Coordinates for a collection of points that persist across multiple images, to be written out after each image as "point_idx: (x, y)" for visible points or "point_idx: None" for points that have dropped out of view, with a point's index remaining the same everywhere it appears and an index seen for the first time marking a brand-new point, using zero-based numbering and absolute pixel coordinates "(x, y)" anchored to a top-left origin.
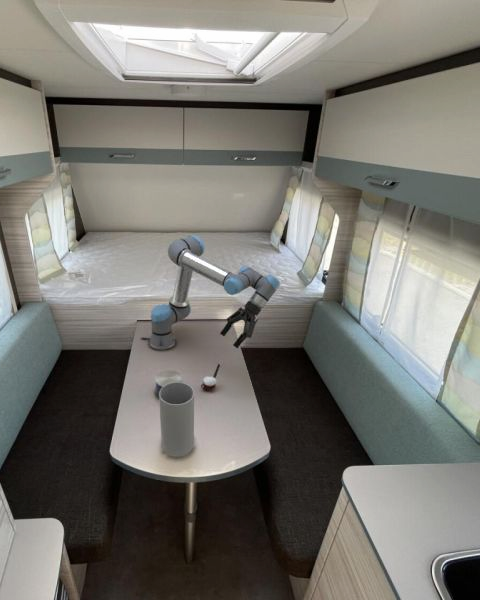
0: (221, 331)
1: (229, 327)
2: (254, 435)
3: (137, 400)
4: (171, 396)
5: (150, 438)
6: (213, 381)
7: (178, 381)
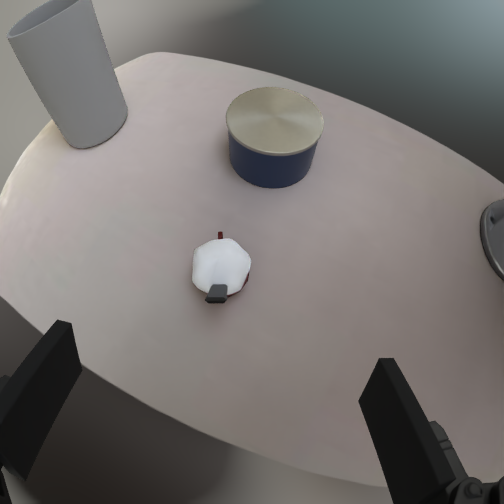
0: (401, 376)
1: (397, 481)
2: (9, 283)
3: None
4: (92, 33)
5: (145, 88)
6: (194, 268)
7: (240, 133)
